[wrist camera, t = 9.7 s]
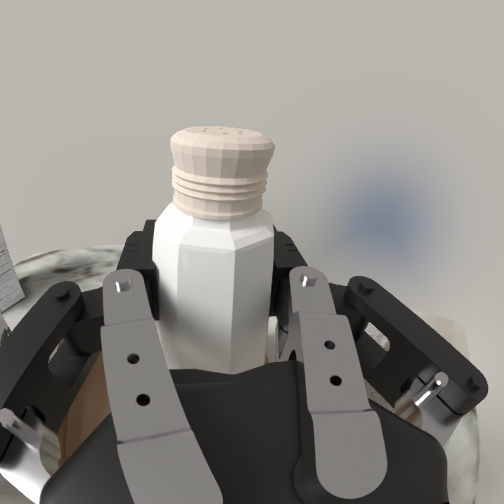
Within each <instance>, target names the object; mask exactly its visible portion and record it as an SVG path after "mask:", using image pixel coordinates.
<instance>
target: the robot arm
mask: <svg viewBox="0 0 504 504" xmlns="http://www.w3.org/2000/svg"><path fill="white" fill-rule="evenodd" d="M156 221H157V220H146V223H145V226H144V229H143V231H135V232H133V233H132V234H131V235H130V236H129V237H128V238H127V240H126V243H125V246H124V248H123V252H122V254H121V257H120V260H119V263H118V266H117V269H116V271H114V272H112V273H110V274H109V275H108V276H106V278H105V279H104V281H103V287H100V288H98V289H94V290H90V291H85V292H81V290H80V287H79V286H78V285H77V284H76V283H74V282H69V281H65V282H60V283H57V284H55V285H53V286H52V287H50V288H49V289H48V290H47V291H46V292H45V294H44V295H43V296H42V297H41V298H40V299H39V300H38V301H37V302H36V303H35V305H34V306H33V307H32V308H31V309H30V310H29V311H28V313H27V314H26V315H25V316H24V317H23V319H22V320H21V321H20V322H19V323H18V325H17V326H16V327H15V328H14V330H13V331H12V332H11V333H10V335H9V336H8V337H7V338H6V340H5V341H4V342H3V344H2V345H1V346H0V473H1V474H2V475H3V476H4V477H5V478H6V479H7V480H8V481H9V482H10V483H12V484H13V485H14V486H15V487H16V488H17V489H18V490H20V491H21V492H22V493H23V494H24V495H26V496H27V497H28V498H29V499H31V500H32V501H33V502H35V503H36V504H450V503H449V500H448V493H447V458H446V455H445V452H444V449H443V446H444V445H445V443H446V442H447V440H448V439H449V437H450V436H451V434H452V433H453V431H454V430H455V428H456V426H457V425H458V423H459V422H460V420H461V418H462V417H463V416H465V415H466V414H467V413H468V412H469V411H471V410H472V409H473V408H474V407H475V406H476V405H477V404H478V403H480V402H481V401H482V400H483V399H484V398H485V397H486V396H487V393H488V384H487V381H486V379H485V377H484V375H483V374H482V373H481V372H480V371H479V370H478V369H477V368H476V367H475V366H474V365H473V364H472V363H471V362H470V361H468V360H467V359H466V358H465V357H464V356H463V355H462V354H461V353H460V352H459V351H457V350H456V349H455V348H454V347H453V346H452V345H451V344H450V343H449V342H447V341H446V340H445V339H444V338H443V337H442V336H441V335H439V334H438V333H437V332H436V331H435V330H434V329H432V328H431V327H430V326H429V325H428V324H427V323H425V322H424V321H423V320H422V319H421V318H420V317H418V316H417V315H416V314H415V313H414V312H412V311H411V310H410V309H409V308H408V307H406V306H405V305H404V304H402V303H401V302H400V301H399V300H397V298H395V297H394V296H393V295H392V294H390V293H389V292H388V291H387V290H385V289H384V288H383V287H382V286H380V285H379V284H378V283H376V282H375V281H374V280H372V279H370V278H367V277H363V276H355V277H352V278H351V279H350V280H349V283H348V285H347V286H342V285H336V284H331V283H328V280H327V278H326V276H325V275H324V274H323V273H322V272H320V271H319V270H317V269H314V268H312V267H308V265H307V264H306V262H305V260H304V259H303V257H302V255H301V254H300V253H299V251H298V249H297V247H296V246H295V245H294V243H293V241H292V239H291V238H290V237H289V236H288V235H286V234H285V233H284V232H278V231H277V230H276V228H275V226H274V225H273V229H274V256H273V272H272V284H271V297H270V308H269V317H271V316H276V317H277V324H276V329H275V330H276V362H274V363H267V364H265V365H262V366H259V367H256V368H253V369H250V370H247V371H244V372H241V373H238V374H225V373H218V372H212V371H206V370H200V369H169V368H168V365H167V362H166V359H165V356H164V352H163V349H162V346H161V342H160V339H159V335H158V332H157V328H156V325H155V321H154V320H159V314H160V311H159V302H158V292H157V281H156V268H155V262H154V261H153V260H152V255H153V238H154V228H155V222H156ZM369 322H371V323H372V324H373V325H374V326H375V327H376V328H377V329H378V330H379V331H380V332H382V333H383V334H384V335H385V336H386V337H387V338H388V340H389V342H390V349H389V351H388V352H387V351H385V350H384V349H383V348H382V347H381V346H380V345H379V344H378V343H377V342H376V341H375V340H374V339H373V338H372V337H370V336H369V335H368V334H367V333H366V332H365V331H364V330H365V329H366V327H367V325H368V323H369ZM61 339H62V340H63V343H62V345H61V346H60V347H59V349H58V350H57V352H56V353H55V355H54V356H53V358H52V359H51V361H50V362H49V364H48V361H49V357H50V355H51V354H52V352H53V351H54V349H55V348H56V346H57V345H58V344H59V342H60V341H61ZM101 351H102V353H103V362H104V370H105V377H106V384H107V390H108V396H109V402H110V407H111V412H110V413H109V414H108V415H107V416H106V418H105V419H104V420H103V421H102V422H101V423H100V424H99V425H98V426H97V427H96V428H95V430H94V431H93V432H92V433H91V434H90V435H89V436H88V437H87V438H86V439H85V440H84V442H83V443H82V444H81V445H80V446H79V447H78V448H77V449H76V450H75V451H74V452H73V453H72V455H71V456H70V457H69V458H68V459H67V460H66V461H65V462H64V463H63V464H62V465H61V466H60V467H58V460H59V459H60V457H61V452H60V443H59V439H58V437H57V435H56V434H57V432H58V430H59V428H60V426H61V424H62V422H63V420H64V418H65V416H66V415H67V413H68V411H69V409H70V407H71V405H72V403H73V401H74V399H75V398H76V396H77V394H78V392H79V390H80V388H81V387H82V385H83V383H84V381H85V380H86V378H87V376H88V374H89V373H90V371H91V369H92V367H93V366H94V364H95V362H96V361H97V359H98V357H99V356H100V354H101ZM363 378H364V379H365V380H366V381H367V382H368V383H369V384H370V385H371V386H372V387H373V388H374V389H375V390H376V391H377V392H378V393H379V394H380V395H381V396H382V397H383V398H384V399H385V400H386V401H387V402H388V403H389V404H390V405H391V406H392V407H393V408H394V409H395V414H394V413H392V412H391V411H389V410H387V409H386V408H384V407H382V406H381V405H379V404H377V403H376V402H374V401H372V400H371V399H369V398H368V397H367V393H366V388H365V384H364V379H363Z"/></svg>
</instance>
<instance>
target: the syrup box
mask: <svg viewBox="0 0 504 504" xmlns="http://www.w3.org/2000/svg"><path fill="white" fill-rule="evenodd" d="M24 297H25V295H24V292H23V290H22V288H21V285H20V283H19V280H18V277H17V275H16V272H15V270H14V267H13V264H12V261H11V259H10V255H9V252H8V249H7V246H6V243H5V240H4V236H3V233H2V229H1V225H0V313H2V312H3V311H5V310H6V309H8V308H9V307H11V306H12V305H14V304H15V303H16V302H18V301H19V300H21V299H22V298H24Z"/></svg>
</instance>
